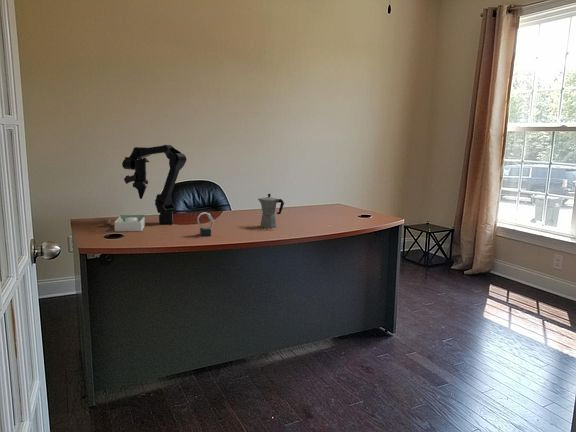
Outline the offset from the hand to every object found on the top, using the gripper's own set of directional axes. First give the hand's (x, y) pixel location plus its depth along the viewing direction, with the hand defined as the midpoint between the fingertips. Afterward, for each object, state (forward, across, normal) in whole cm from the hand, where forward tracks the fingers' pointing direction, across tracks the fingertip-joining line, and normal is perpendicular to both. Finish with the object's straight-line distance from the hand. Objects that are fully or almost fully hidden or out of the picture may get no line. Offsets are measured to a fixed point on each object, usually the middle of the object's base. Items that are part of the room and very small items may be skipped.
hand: (141, 198), depth 248 cm
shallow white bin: (+12, +22, -3) cm, 25 cm away
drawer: (+11, +21, -3) cm, 23 cm away
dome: (+10, +18, -3) cm, 21 cm away
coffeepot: (+12, +20, +69) cm, 73 cm away
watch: (+12, +40, +34) cm, 54 cm away
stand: (+12, +17, -15) cm, 26 cm away
